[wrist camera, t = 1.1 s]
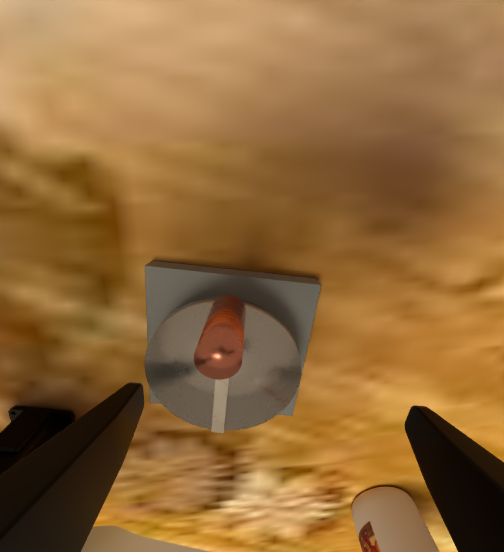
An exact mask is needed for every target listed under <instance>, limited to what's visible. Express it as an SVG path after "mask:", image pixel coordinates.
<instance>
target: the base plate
mask: <svg viewBox="0 0 504 552" xmlns="http://www.w3.org/2000/svg"><path fill="white" fill-rule="evenodd" d="M145 281H146V307H147V334H148V345H149V342H150V340H151V338H152V337H153V335H154V333H155V332H156V330H157V329H158V327H159V326H160V325H161V324H162V322H163V321H164V320H165V319H166V318H167V317H168V316H169V315H170V314H171V313H173V312H174V311H176V310H177V309H179V308H180V307H182V306H184V305H186V304H188V303H191V302H194V301H197V300H201V299H206V298H213V297H220V296H223V295H233V296H236V297H238V298H239V299H242V300H245V301H249V302H252V303H254V304H257V305H259V306H261V307H263V308H265V309H266V310H268V311H270V312H271V313H273V314H274V315H275V316H276V317H278V318H279V319H280V320H281V321H282V322H283V323H284V324H285V326H286V327H287V328H288V330H289V331H290V333H291V334H292V336H293V338H294V340H295V343H296V346H297V349H298V352H299V356H300V362H301V375H302V370H303V366H304V361H305V357H306V352H307V348H308V343H309V339H310V334H311V330H312V325H313V321H314V316H315V312H316V307H317V303H318V298H319V294H320V289H321V284H320V282H319V281H318V279H317V278H308V277H299V276H290V275H281V274H272V273H262V272H253V271H244V270H235V269H226V268H216V267H207V266H198V265H189V264H180V263H171V262H161V261H151V262H150V263H148V264H147V265H145ZM300 379H301V378H300ZM299 384H300V383H299ZM149 388H150V385H149ZM298 388H299V386H298ZM297 393H298V389H297V391H296V393H295V396H294V397H293V399H292V400H291V402H290V403H289V404H288V405H287V406H286V407H285V409H284V410H282V411H281V412H280V413H279V414H278V415H289V416H292V415H293V411H294V406H295V402H296V397H297ZM150 403H161V402H160V401H159V400H158V399H157V398H156V396H155V395H154V393H153V391H152V390H151V388H150Z"/></svg>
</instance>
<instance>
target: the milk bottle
mask: <svg viewBox="0 0 504 552" xmlns="http://www.w3.org/2000/svg"><path fill="white" fill-rule="evenodd" d="M352 516H353V520H354V524H355V527H356V531H357V534H358V537H359V541H360V544H361V548H362V551H363V552H439V550H438V548H437V546H436V544H435V542H434V540H433V538H432V536H431V534H430V532H429V530H428V528H427V526H426V524H425V522H424V520H423V518H422V516H421V514H420V512H419V510H418V509H417V507H416V505H415V503H414V501H413V500H412V498H411V497H410V496H409V495H408V494H407V493H406V492H404V491H403V490H401V489H398V488H394V487H377V488H373V489H370V490H367V491H365V492H363V493H362V494H360V495H359V496H358V497H357V498H356V499H355V500H354V502H353V504H352Z"/></svg>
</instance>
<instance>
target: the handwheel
mask: <svg viewBox="0 0 504 552" xmlns="http://www.w3.org/2000/svg"><path fill="white" fill-rule="evenodd" d="M145 372H146V377H147V380H148V383H149V385H150V388H151V390H152V391H153V393H154V395H155V396H156V398H157V399H158V400H159V401H160V402H161V404H162V405H163V406H164V407H166V408H167V409H168V410H169V411H170V412H172V413H173V414H174V415H176V416H177V417H179V418H181V419H182V420H184V421H187V422H189V423H191V424H194V425H197V426H199V427H203V428H208V429H212V430H211V432H218V433H224V430H227V431H228V430H240V429H246V428H250V427H254V426H257V425H259V424H262V423H264V422H266V421H268V420H270V419H272V418H273V417H275V416H276V415H278V414H279V413H280V412H281V411H282V410H284V409H285V407H286V406H287V405H288V404H289V403H290V402H291V400H292V399H293V397H294V396H295V393H296V391H297V389H298V386H299V383H300V378H301V362H300V356H299V352H298V349H297V346H296V343H295V340H294V338H293V336H292V334H291V333H290V331H289V330H288V328H287V327H286V326H285V324H284V323H283V322H282V321H281V320H280V319H279V318H278V317H276V316H275V315H274V314H273V313H271V312H270V311H268V310H266V309H265V308H263V307H261V306H259V305H257V304H254V303H252V302H249V301H245V300H242V299H239V298H238V297H236V296H233V295H223V296H220V297H213V298H206V299H201V300H197V301H194V302H191V303H188V304H186V305H184V306H182V307H180V308H179V309H177V310H176V311H174V312H173V313H171V314H170V315H169V316H168V317H167V318H166V319H165V320H164V321H163V322H162V324H161V325H160V326H159V327H158V329H157V330H156V332H155V333H154V335H153V337H152V338H151V340H150V342H149V345H148V347H147V351H146V356H145Z"/></svg>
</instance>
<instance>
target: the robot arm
mask: <svg viewBox="0 0 504 552" xmlns="http://www.w3.org/2000/svg"><path fill="white" fill-rule="evenodd" d="M143 407H144V394H143V385H142V384H141V383H132V382H130V383H128V384H126V385H125V386H123V387H122V388H120V389H119V390H118V391H116V392H115V393H114V394H112V395H111V396H109V397H108V398H107V399H105V400H104V401H102V402H101V403H100V404H98V405H97V406H95V407H94V408H93V409H91V410H90V411H89V412H87V413H86V414H84V415H83V416H82V417H80V418H79V419H77V420H76V421H75V418H74V414H73V413H72V412H70V411H61V410H50V409H39V408H29V407H18V406H14V407H12V408H11V409H10V410H9V416H10V419H11V423H10V424H9V425H8V426H7V427H6V428H5V429H3V430H2V431H1V432H0V552H81V550H82V548H83V546H84V544H85V542H86V540H87V537H88V535H89V533H90V531H91V529H92V527H93V525H94V523H95V521H96V519H97V517H98V514H99V512H100V510H101V508H102V506H103V504H104V502H105V500H106V498H107V496H108V493H109V491H110V489H111V487H112V485H113V483H114V481H115V479H116V477H117V475H118V472H119V470H120V468H121V466H122V464H123V462H124V459H125V457H126V454H127V451H128V449H129V446H130V443H131V441H132V438H133V435H134V432H135V430H136V427H137V424H138V422H139V419H140V416H141V413H142V411H143ZM405 431H406V434H407V436H408V439H409V441H410V444H411V447H412V449H413V452H414V454H415V457H416V460H417V462H418V465H419V467H420V470H421V473H422V475H423V478H424V480H425V482H426V485H427V487H428V489H429V491H430V494H431V496H432V498H433V500H434V502H435V504H436V506H437V508H438V510H439V512H440V515H441V517H442V519H443V521H444V523H445V525H446V527H447V529H448V531H449V533H450V535H451V538H452V540H453V542H454V544H455V546H456V548H457V550H458V552H504V462H502V461H501V460H500V459H498V458H497V457H495V456H494V455H493V454H491V453H490V452H488V451H487V450H486V449H484V448H483V447H482V446H480V445H479V444H477V443H476V442H475V441H473V440H472V439H471V438H469V437H468V436H466V435H465V434H464V433H462V432H461V431H459V430H458V429H457V428H455V427H454V426H453V425H451V424H450V423H448V422H447V421H446V420H444V419H443V418H442V417H440V416H439V415H437V414H436V413H435V412H433V411H432V410H430V409H429V408H427V407H425V406H412V407H411V409H410V411H409V414H408V416H407V419H406V421H405Z"/></svg>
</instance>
